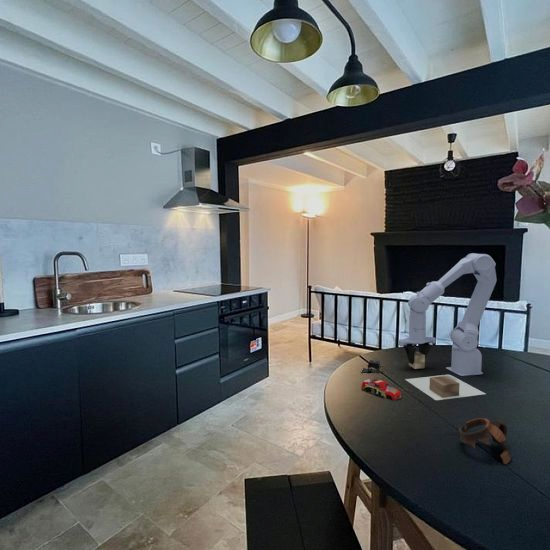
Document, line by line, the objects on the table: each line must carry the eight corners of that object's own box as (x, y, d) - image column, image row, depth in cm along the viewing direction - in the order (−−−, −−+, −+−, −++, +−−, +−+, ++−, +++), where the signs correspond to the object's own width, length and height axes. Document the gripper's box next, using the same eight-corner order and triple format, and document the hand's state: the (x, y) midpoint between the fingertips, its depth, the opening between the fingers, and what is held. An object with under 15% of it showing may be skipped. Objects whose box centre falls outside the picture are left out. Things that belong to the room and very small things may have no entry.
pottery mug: (503, 474, 70) (481, 436, 72) (465, 468, 78) (446, 434, 80) (529, 442, 76) (508, 408, 78) (491, 440, 84) (472, 409, 86)
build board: (449, 375, 120) (449, 374, 120) (486, 395, 105) (486, 393, 105) (404, 380, 117) (404, 379, 117) (435, 401, 101) (435, 399, 101)
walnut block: (445, 387, 110) (445, 375, 109) (459, 395, 104) (459, 383, 103) (429, 389, 108) (429, 377, 108) (442, 397, 103) (442, 385, 102)
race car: (405, 399, 104) (405, 386, 103) (395, 404, 100) (396, 391, 100) (368, 385, 114) (369, 374, 114) (359, 390, 110) (359, 378, 110)
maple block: (417, 364, 129) (418, 351, 128) (424, 367, 125) (424, 355, 124) (408, 365, 128) (408, 352, 127) (415, 368, 124) (415, 355, 124)
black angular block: (392, 372, 125) (392, 361, 125) (390, 380, 119) (390, 367, 118) (359, 368, 130) (359, 356, 130) (355, 374, 124) (355, 362, 123)
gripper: (427, 323, 130) (426, 357, 132) (393, 326, 127) (393, 360, 129) (439, 328, 123) (438, 363, 125) (404, 331, 120) (404, 367, 122)
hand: (416, 362), depth 126 cm, fingers closed on maple block, 4 cm apart
